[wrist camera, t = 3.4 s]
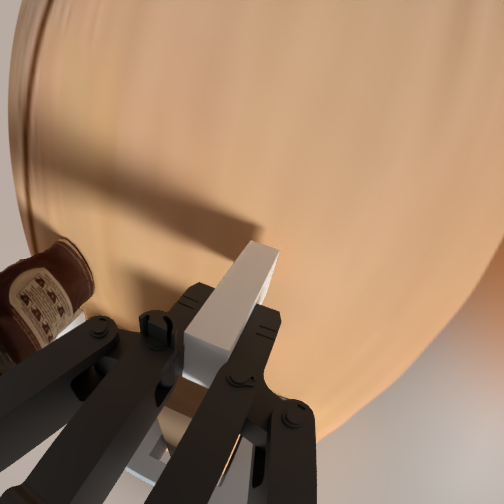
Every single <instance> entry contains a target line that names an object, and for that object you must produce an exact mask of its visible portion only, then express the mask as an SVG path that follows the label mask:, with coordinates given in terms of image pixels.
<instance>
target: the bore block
mask: <svg viewBox="0 0 504 504" xmlns="http://www.w3.org/2000/svg"><path fill="white" fill-rule="evenodd" d="M280 398H282V397H280ZM282 399H283V400H287V399H285V398H282ZM252 447H253V444H252V443H251V442H250V441H248V440H247V439H246V438H244V437H243V436H242V435H240V437H239V440H238V442H237V445H236V447H235V449H234V452H233V454H232V456H231V459H230V461H229V463H228V465H227V468H226V470H225V472H224V474H223V477H222V479H221V481H220V483H219V485H218V486H216V487H215V489H214V491H213V493H212V495H211V498H210V500H209V502H208V504H247V500H248V490H249V479H250V469H251V458H252ZM166 448H167V445H166V442H165V440H164V437H163V434H162V431H161V428H160V425H159V421H158V418H156V420H155V422H154V423H153V425H152V426H151V428H150V430H149V431H148V433H147V434H146V436H145V438H144V439H143V441H142V442H141V444H140V446H139V447H138V449H137V450H136V452H135V453H134V455H133V457H132V458H131V460H130V461H129V463H128V465H127V466H126V468H125V469H124V470H126V471H128V472H129V473H131V474H133V475H134V476H136V477H138V478H140V479H142V480H143V481H145V482H147V483H149V484H151V485H153V486H155V484H156V482H157V480H158V479H159V477H160V475H161V474H162V472H163V470H164V468H165V467H166V465H167V464H165V463H163V462H161V461H159V460H160V459H161V457H162V455H163V454H164V452H165V450H166Z"/></svg>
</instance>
